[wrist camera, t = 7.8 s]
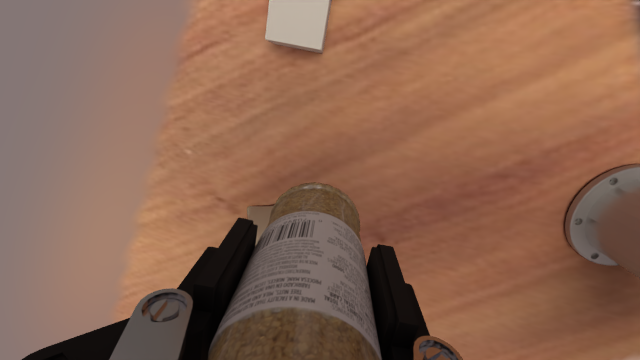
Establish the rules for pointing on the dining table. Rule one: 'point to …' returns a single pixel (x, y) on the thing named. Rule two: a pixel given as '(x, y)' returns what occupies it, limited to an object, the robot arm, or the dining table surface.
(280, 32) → the off-white block
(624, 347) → the dining table surface
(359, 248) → the sprinkles bottle
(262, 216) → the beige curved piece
